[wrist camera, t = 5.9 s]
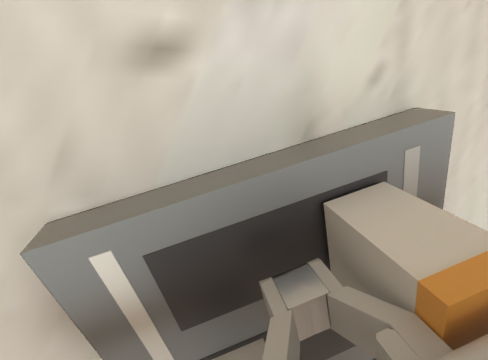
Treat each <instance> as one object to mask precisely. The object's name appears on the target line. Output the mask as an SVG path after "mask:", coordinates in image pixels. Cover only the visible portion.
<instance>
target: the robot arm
mask: <svg viewBox="0 0 488 360" xmlns="http://www.w3.org/2000/svg"><path fill="white" fill-rule="evenodd" d="M259 284H260V288H261V291H262V295H263V298H264V302H265V305H266V308H267V311H268V314H269V316H270V322H269V327H268V332H267V337H266V342H265V347H264V352H263V357H262V360H299V359H300V341H302V340H304V339H306V338H308V337H310V336H312V335H315V334H317V333H319V332H322V331H324V330H327V329H329V328H331V329H332V330H334V331H335V332H337V333H338V334H340V335H341V336H343V337H344V338H346V339H347V340H349V341H350V342H352V343H353V344H355V345H356V346H358V347H359V348H361V349H362V350H364V351H365V352H367V353H368V354H370V355H371V356H373V357H374V358H376V360H488V334H486V335H484V336H482V337H480V338H478V339H476V340H474V341H472V342H470V343H468V344H466V345H464V346H461V347H459V348H457V349H455V350H452V349H451V348H450V347H449V346H448V345H447V344H446V343H445V342H444V341H443V340H442V339H441V338H440V337H439V336H438V335H437V334H436V333H435V332H434V331H433V330H431V329H430V328H429V327H428V326H427V325H426V324H425V323H424V322H423V321H422V320H421V319H420V318H419V317H418V316H417V315H416V314H414V313H412V312H409V311H407V310H404V309H402V308H400V307H397V306H395V305H392V304H390V303H387V302H385V301H383V300H380V299H378V298H375V297H373V296H370V295H368V294H366V293H363V292H361V291H358V290H356V289H354V288H351V287H349V286H345V287H343V286H342V285H341V284H340V282H339V281H338V280H337V279H336V278H335V276H334V275H333V274H332V273H331V272H330V270H329V269H328V268H327V267H326V265H325V264H324V263H323V262H322V261H321V259H319V258H317V259H315V260H312V261H310V262H307V263H304V264H302V265H300V266H297V267H295V268H292V269H290V270H287V271H285V272H282V273H280V274H277V275H274V276H272V277H269V278H267V279H264V280H261V281H259Z"/></svg>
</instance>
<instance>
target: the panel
mask: <svg viewBox="0 0 488 360" xmlns="http://www.w3.org/2000/svg"><path fill="white" fill-rule="evenodd" d="M454 119H455V112H449V111H440V110H431V109H422V108H414V109H410V110H407V111H404V112H401V113H398V114H394V115H391V116H388V117H385V118H382V119H378V120H375V121H372V122H369V123H366V124H363V125H359V126H356V127H353V128H350V129H347V130H343V131H340V132H337V133H334V134H331V135H327V136H324V137H321V138H318V139H315V140H311V141H308V142H305V143H302V144H299V145H296V146H292V147H289V148H286V149H283V150H280V151H276V152H273V153H270V154H267V155H264V156H260V157H257V158H254V159H251V160H248V161H244V162H241V163H238V164H235V165H232V166H229V167H225V168H222V169H219V170H216V171H213V172H209V173H206V174H203V175H200V176H197V177H193V178H190V179H187V180H184V181H181V182H177V183H174V184H171V185H168V186H165V187H162V188H158V189H155V190H152V191H149V192H146V193H142V194H139V195H136V196H133V197H130V198H126V199H123V200H120V201H117V202H114V203H111V204H107V205H104V206H101V207H98V208H95V209H91V210H88V211H85V212H82V213H79V214H75V215H72V216H69V217H66V218H63V219H59V220H56V221H53V222H50V223H47V224H46V225H45V226H44V227H43V228H42V229H41V230H40V232H39V233H38V234H37V235H36V236H35V237H34V238H33V240H32V241H31V242H30V243H29V244H28V245H27V246H26V247H25V249H24V250H23V251H22V252H21V253H20V255H21V256H22V258H23V259H24V260H25V261H26V263H27V264H28V265H29V266H30V268H31V269H32V270H33V272H34V273H35V274H36V275H37V277H38V278H39V279H40V280H41V282H42V283H43V284H44V286H45V287H46V288H47V289H48V291H49V292H50V293H51V294H52V296H53V297H54V298H55V299H56V301H57V302H58V303H59V305H60V306H61V307H62V308H63V310H64V311H65V312H66V313H67V315H68V316H69V317H70V319H71V320H72V321H73V322H74V324H75V325H76V326H77V327H78V329H79V330H80V331H81V332H82V334H83V335H84V336H85V338H86V339H87V340H88V341H89V343H90V344H91V345H92V346H93V348H94V349H95V350H96V351H97V353H98V354H99V355H100V357H101V358H102V359H103V360H262V357H263V352H264V347H265V342H266V337H267V332H268V327H269V322H270V316H269V314H268V311H267V308H266V305H265V302H264V298H263V295H262V291H261V288H260V284H259V281H261V280H264V279H267V278H269V277H272V276H274V275H277V274H280V273H282V272H285V271H287V270H290V269H292V268H295V267H297V266H300V265H302V264H304V263H307V262H310V261H312V260H315V259H317V258H319V259H321V261H322V262H323V263H324V264H325V265H326V267H327V268H328V269H329V270H330V272H331V269H330V259H329V250H328V241H327V231H326V222H325V213H324V203H325V202H328V201H331V200H334V199H336V198H339V197H342V196H345V195H348V194H351V193H353V192H356V191H359V190H362V189H365V188H367V187H370V186H373V185H376V184H379V183H381V182H386V183H388V184H390V185H393V186H395V187H397V188H399V189H401V190H403V191H405V192H407V193H409V194H411V195H413V196H415V197H417V198H420V199H422V200H424V201H426V202H428V203H430V204H432V205H434V206H436V207H438V208H440V209H442V210H443V203H444V196H445V188H446V180H447V173H448V165H449V157H450V150H451V142H452V134H453V127H454ZM335 278H336V277H335ZM299 360H376V358H374V357H373V356H371V355H370V354H368V353H367V352H365V351H364V350H362V349H361V348H359V347H358V346H356V345H355V344H353V343H352V342H350V341H349V340H347V339H346V338H344V337H343V336H341V335H340V334H338V333H337V332H335V331H334V330H332V329H331V328H329V329H327V330H324V331H322V332H319V333H317V334H315V335H312V336H310V337H308V338H306V339H304V340H302V341H300V359H299Z"/></svg>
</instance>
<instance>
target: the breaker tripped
mask: <svg viewBox="0 0 488 360" xmlns="http://www.w3.org/2000/svg"><path fill="white" fill-rule="evenodd" d="M324 213H325V222H326V231H327V241H328V250H329V259H330V269H331V273H332V274H333V275H334V276H335V277H336V279H337V280H338V281H339V282H340V284H341V285H342V286H343V287H345V286H349V287H351V288H354V289H356V290H358V291H361V292H363V293H366V294H368V295H370V296H373V297H375V298H378V299H380V300H383V301H385V302H387V303H390V304H392V305H395V306H397V307H400V308H402V309H404V310H407V311H409V312H412V313H414V314H416V315H417V316H418V317H419V318H420V319H421V320H422V321H423V322H424V323H425V324H426V325H427V326H428V327H429V328H430V329H431V330H433V331H434V332H435V333H436V334H437V335H438V336H439V337H440V338H441V339H442V340H443V341H444V342H445V343H446V344H447V345H448V346H449V347H450V348H451V349H452V350H455V349H457V348H459V347H461V346H464V345H466V344H468V343H470V342H472V341H474V340H476V339H478V338H480V337H482V336H484V335H486V334H488V231H486V230H484V229H482V228H480V227H478V226H476V225H474V224H471V223H469V222H467V221H465V220H463V219H461V218H459V217H457V216H455V215H453V214H451V213H449V212H447V211H444V210H442V209H440V208H438V207H436V206H434V205H432V204H430V203H428V202H426V201H424V200H422V199H420V198H417V197H415V196H413V195H411V194H409V193H407V192H405V191H403V190H401V189H399V188H397V187H395V186H393V185H390V184H388V183H386V182H381V183H379V184H376V185H373V186H370V187H367V188H365V189H362V190H359V191H356V192H353V193H351V194H348V195H345V196H342V197H339V198H336V199H334V200H331V201H328V202H325V203H324Z"/></svg>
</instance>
